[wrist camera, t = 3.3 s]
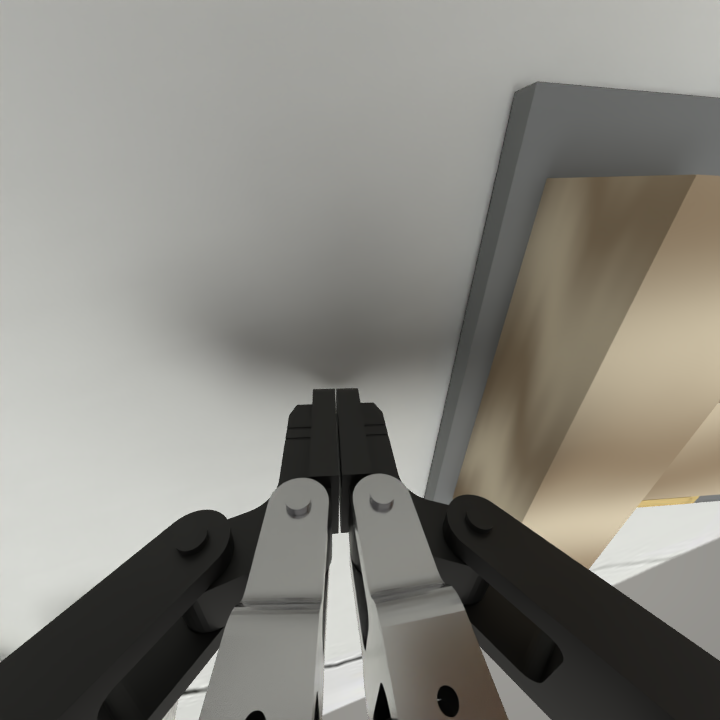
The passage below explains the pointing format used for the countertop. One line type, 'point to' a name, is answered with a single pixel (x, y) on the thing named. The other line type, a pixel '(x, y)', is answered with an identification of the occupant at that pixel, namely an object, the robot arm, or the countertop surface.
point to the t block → (605, 361)
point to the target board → (520, 205)
